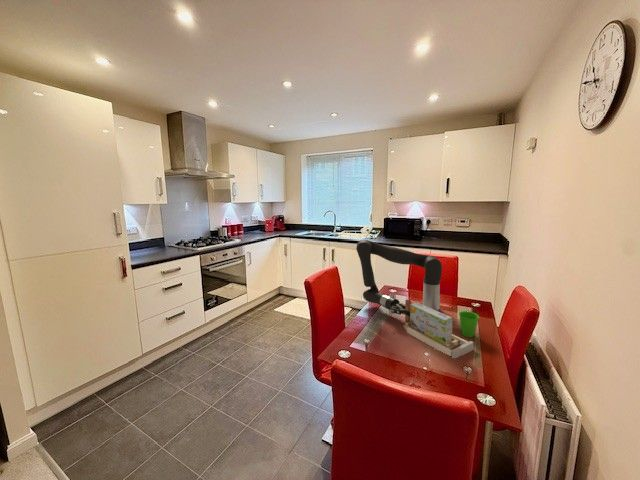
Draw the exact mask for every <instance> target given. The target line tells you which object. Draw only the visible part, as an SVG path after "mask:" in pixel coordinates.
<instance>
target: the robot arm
mask: <svg viewBox="0 0 640 480" xmlns="http://www.w3.org/2000/svg"><path fill="white" fill-rule="evenodd" d="M355 249H356V253H357V255H358V258H359V261H360V265H361V271H362V272H361V273H362V281H363V285H364V286H365V287H366V288H368V289H366V290H364V292H363V293H362V296H363V298H364V301H366V302H368V303H371V304H378V305H380V306H382V307H383V308H385V309H387V310H389V311H390V313H392V314H396V315H404V316H405V315H407V316H410V312H409V311H406V310H405V306H406V303H405V304H404V303H402V302H400V300H399V299H397V298H395V297H393V296H390V295H387V294H386V293H385V294H384V293H383V292H380V291H379V289H378V286H377V284H376V281H375V280H376V279H375V273H374V270H373V266H372V258H371V257H372V255H375V256H378V257H380V258H383V259H385V260H386V261H389V262H391V263H394V264H399V265H412V266H416V267H417V266H418V267H421V268H424V269H425V271H424V277H423V283H422V284H423V286H422V287H423V289H422V290H423V291H422V305H425V306H427V307H429V308H431V309H434V310H436V311H438V312H439V310H440V305H441V293H440V290H441V288H440V286H441V280H442V272H443V271H442V270H443V265H442V262H441V261H440V260H439V259H438V258H437V257H436V256H433V255H427V254H421V253H420V254H419V253H417V252H416V253H415V252H413V251H409V250H406V249H403V248H399V247H395V246H394V247H393V246H389V245H385V244H379V243H377V242H373V241H371V240H368V239H365V238H364V239H360V240H359V241H358V242H357V243H356V248H355Z"/></svg>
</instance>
